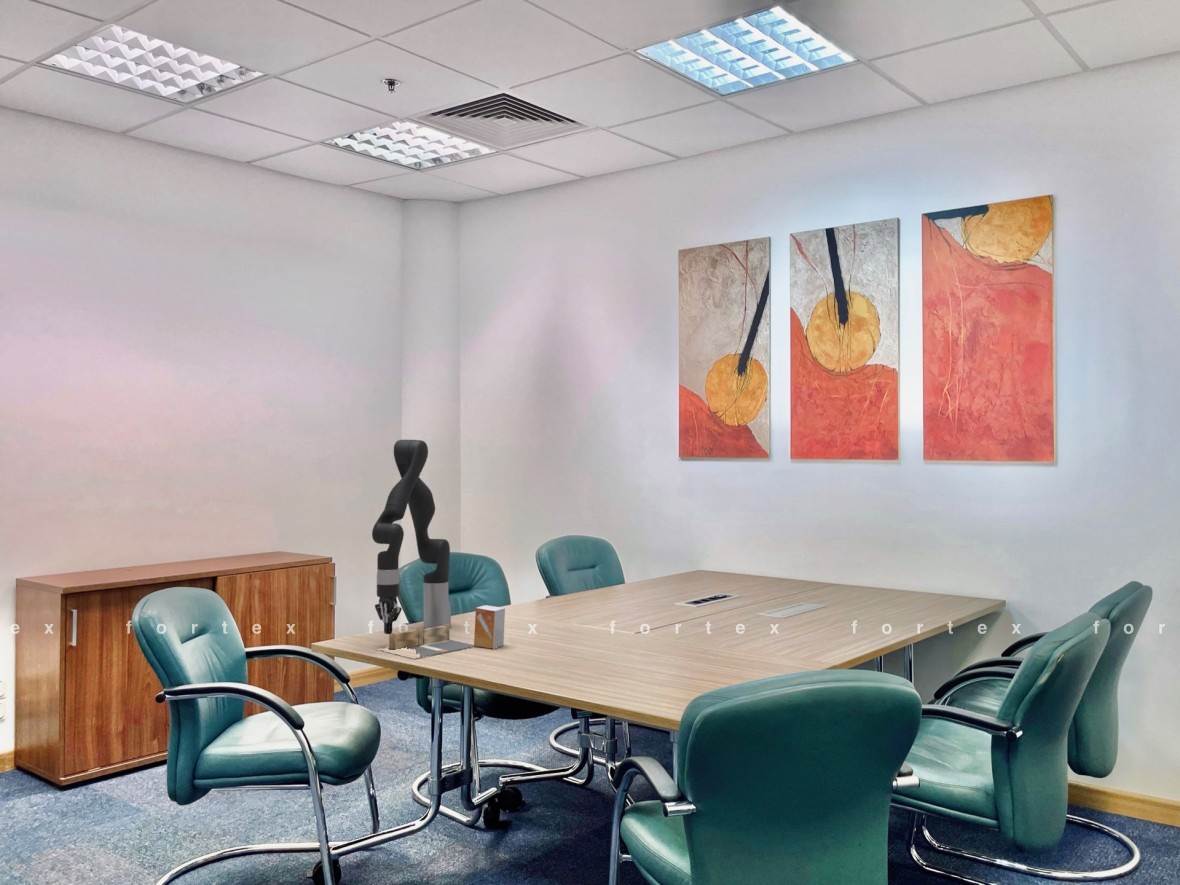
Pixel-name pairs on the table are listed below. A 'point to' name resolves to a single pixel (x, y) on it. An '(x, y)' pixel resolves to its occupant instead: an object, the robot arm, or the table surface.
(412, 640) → the fence gate
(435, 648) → the card
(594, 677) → the table surface
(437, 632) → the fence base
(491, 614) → the small box
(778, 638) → the table surface
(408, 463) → the robot arm
